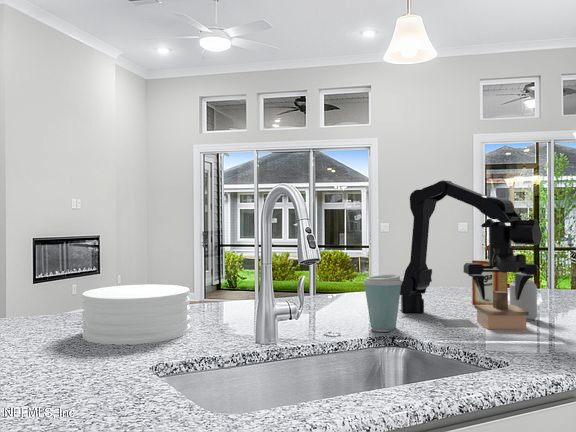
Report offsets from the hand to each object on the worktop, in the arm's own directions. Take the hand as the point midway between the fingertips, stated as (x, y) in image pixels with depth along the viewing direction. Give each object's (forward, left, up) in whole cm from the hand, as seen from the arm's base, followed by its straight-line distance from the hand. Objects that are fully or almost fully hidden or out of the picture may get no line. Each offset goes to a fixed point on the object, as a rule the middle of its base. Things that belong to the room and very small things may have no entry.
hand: (500, 299), depth 143 cm
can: (+11, +13, -8) cm, 19 cm away
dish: (0, 0, -8) cm, 8 cm away
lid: (0, 0, -3) cm, 3 cm away
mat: (-11, +3, -8) cm, 14 cm away
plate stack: (-100, -10, -8) cm, 101 cm away
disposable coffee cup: (-33, -4, -8) cm, 34 cm away
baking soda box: (+9, +38, -8) cm, 40 cm away
